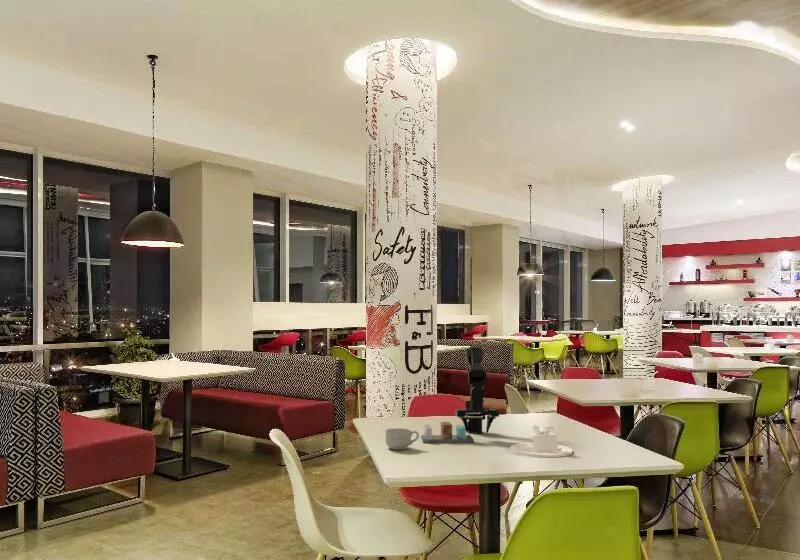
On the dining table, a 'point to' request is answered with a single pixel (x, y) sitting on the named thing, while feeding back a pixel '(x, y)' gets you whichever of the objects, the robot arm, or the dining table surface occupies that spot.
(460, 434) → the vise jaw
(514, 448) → the dish
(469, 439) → the vise base
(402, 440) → the teacup
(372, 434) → the dining table surface
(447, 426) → the brown rectangular block
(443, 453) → the dining table surface
